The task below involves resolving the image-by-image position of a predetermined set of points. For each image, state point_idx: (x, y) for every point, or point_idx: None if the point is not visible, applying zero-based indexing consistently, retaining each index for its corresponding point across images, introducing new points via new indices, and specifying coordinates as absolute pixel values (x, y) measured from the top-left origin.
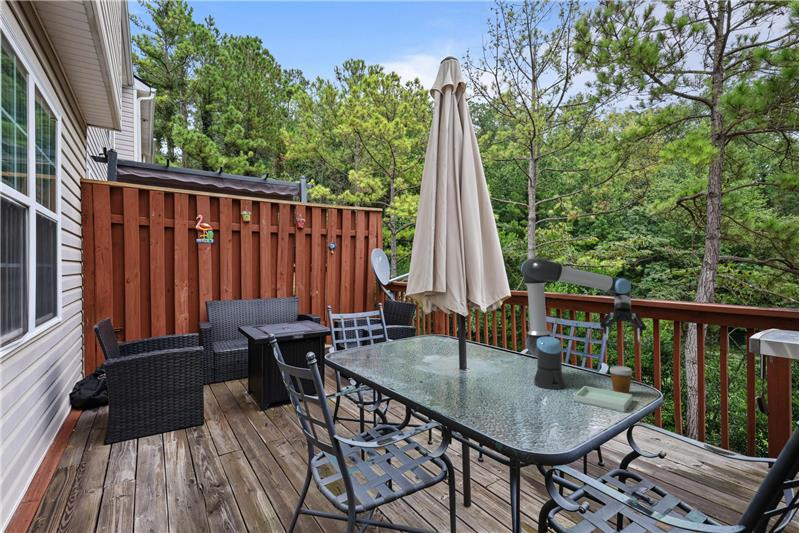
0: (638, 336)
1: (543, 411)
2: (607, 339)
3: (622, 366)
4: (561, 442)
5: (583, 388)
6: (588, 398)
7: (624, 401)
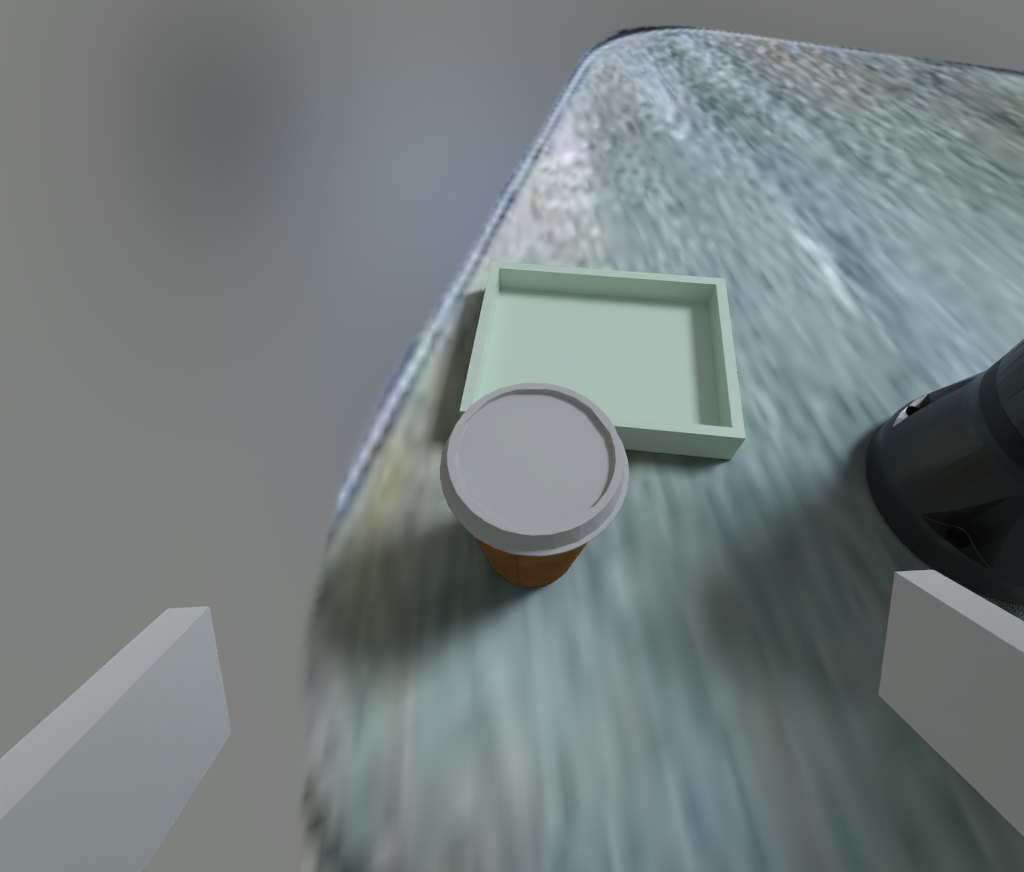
0: (136, 666)
1: (761, 184)
2: (895, 655)
3: (528, 527)
4: (620, 72)
5: (728, 388)
6: (650, 275)
7: (498, 381)
